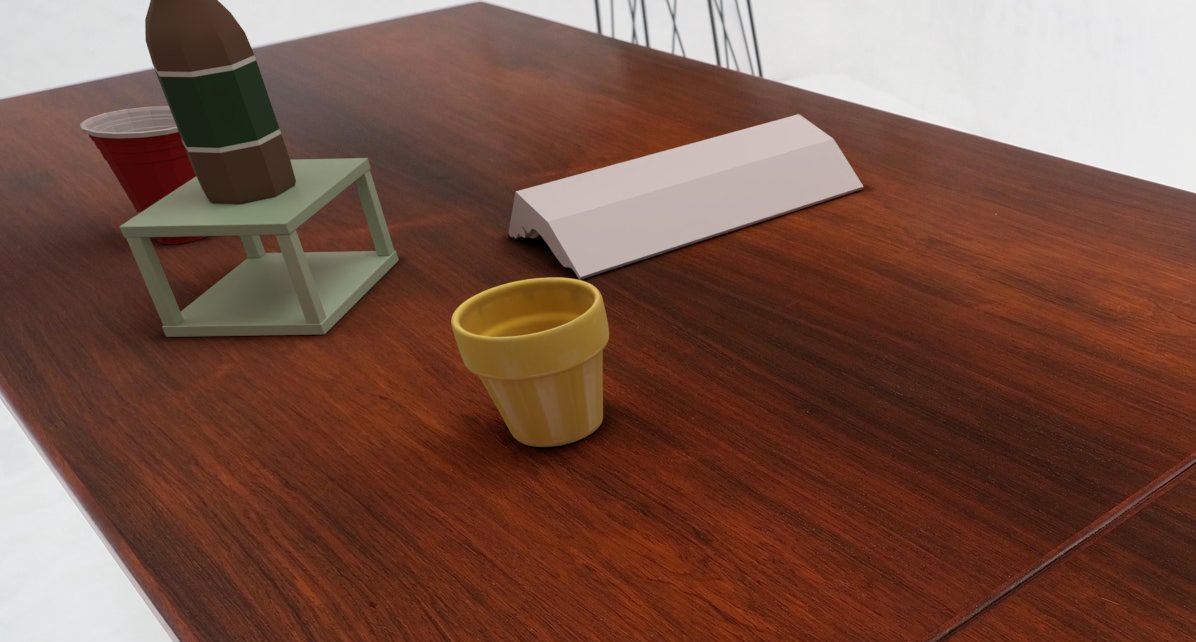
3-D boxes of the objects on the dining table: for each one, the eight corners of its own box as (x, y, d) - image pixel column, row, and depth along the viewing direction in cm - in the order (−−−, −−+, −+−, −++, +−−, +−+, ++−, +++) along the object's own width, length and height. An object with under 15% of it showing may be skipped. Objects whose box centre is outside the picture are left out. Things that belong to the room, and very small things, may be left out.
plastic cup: (265, 229, 131) (222, 111, 124) (153, 263, 124) (101, 140, 118) (223, 206, 137) (180, 92, 130) (114, 236, 131) (63, 118, 124)
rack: (165, 337, 110) (118, 226, 105) (256, 262, 124) (219, 160, 118) (324, 334, 110) (285, 223, 104) (399, 260, 123) (368, 157, 117)
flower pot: (478, 410, 98) (443, 291, 92) (613, 381, 101) (588, 264, 96) (492, 475, 90) (456, 350, 85) (639, 441, 93) (614, 318, 88)
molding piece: (565, 330, 126) (580, 276, 117) (508, 232, 127) (518, 173, 119) (833, 238, 143) (863, 186, 135) (780, 153, 144) (806, 96, 136)
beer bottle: (318, 183, 112) (217, -122, 98) (235, 212, 107) (116, -106, 93) (265, 169, 116) (161, -127, 102) (182, 196, 110) (61, -112, 97)
